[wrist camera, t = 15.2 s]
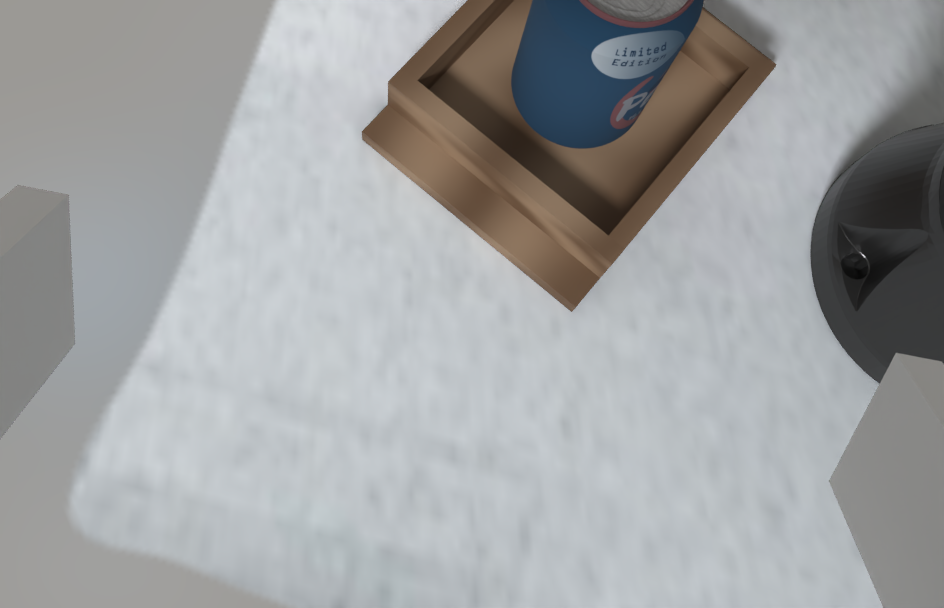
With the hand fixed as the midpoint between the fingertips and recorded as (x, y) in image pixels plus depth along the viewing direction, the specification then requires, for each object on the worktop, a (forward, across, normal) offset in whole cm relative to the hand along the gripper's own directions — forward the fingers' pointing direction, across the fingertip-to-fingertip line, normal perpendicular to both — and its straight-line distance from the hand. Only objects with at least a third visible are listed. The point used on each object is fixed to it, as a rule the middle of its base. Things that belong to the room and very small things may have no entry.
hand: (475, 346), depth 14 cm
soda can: (+35, +5, -6) cm, 36 cm away
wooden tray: (+35, +5, -7) cm, 36 cm away
